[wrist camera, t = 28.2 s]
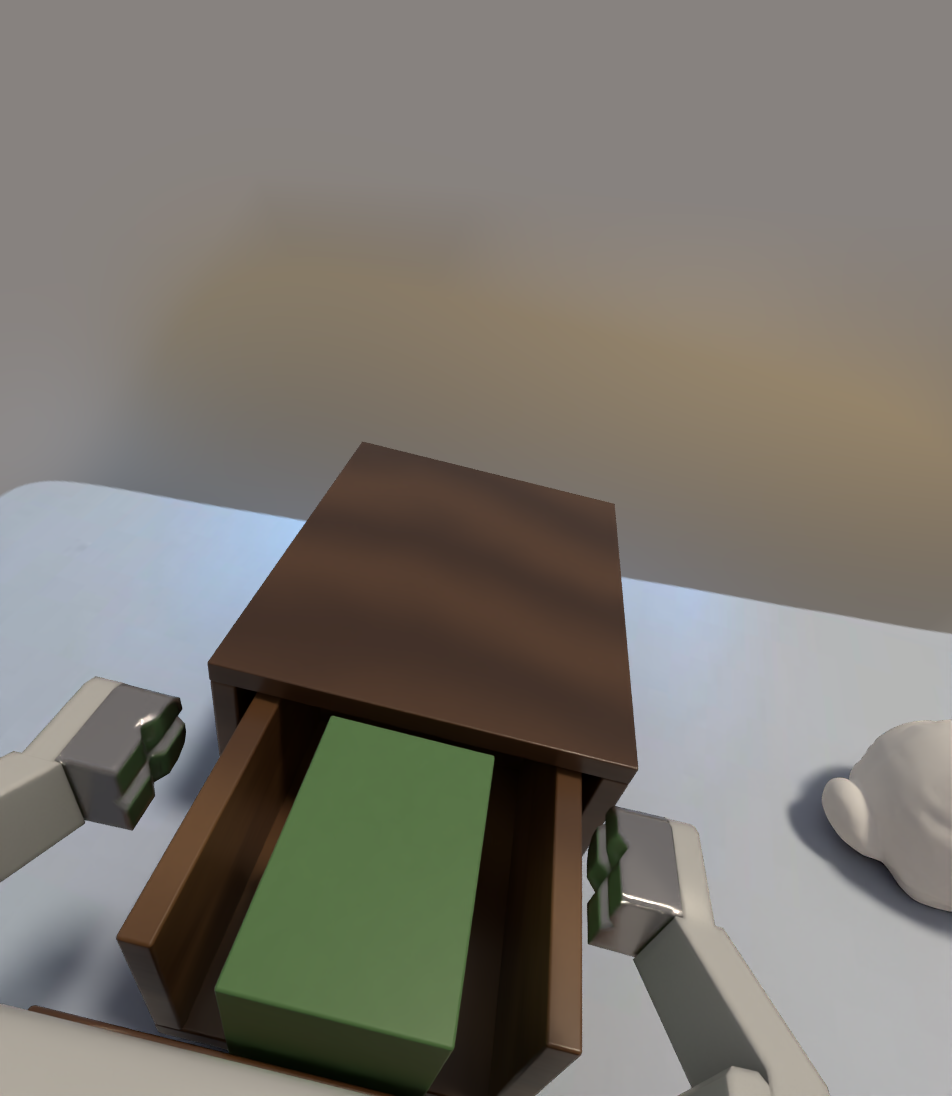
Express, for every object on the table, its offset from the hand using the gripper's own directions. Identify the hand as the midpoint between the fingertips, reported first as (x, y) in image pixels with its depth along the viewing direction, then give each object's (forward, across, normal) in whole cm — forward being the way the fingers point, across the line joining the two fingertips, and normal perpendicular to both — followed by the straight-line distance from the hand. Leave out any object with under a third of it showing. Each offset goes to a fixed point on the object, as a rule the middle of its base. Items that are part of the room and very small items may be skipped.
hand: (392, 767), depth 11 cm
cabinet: (+11, 0, +13) cm, 17 cm away
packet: (-1, 0, +11) cm, 11 cm away
